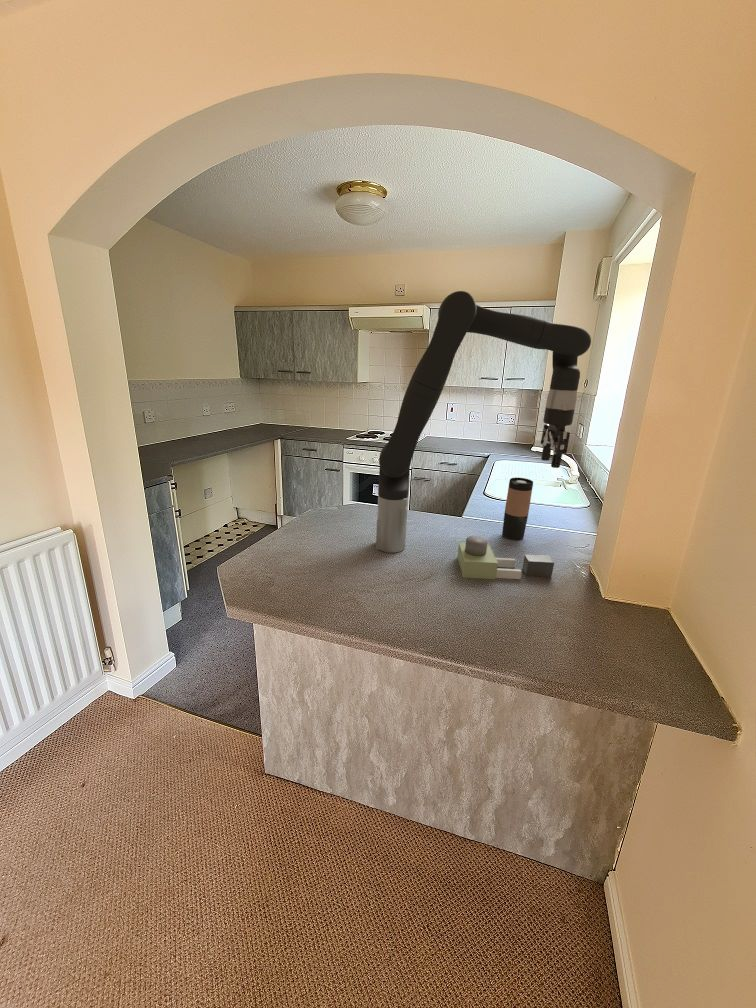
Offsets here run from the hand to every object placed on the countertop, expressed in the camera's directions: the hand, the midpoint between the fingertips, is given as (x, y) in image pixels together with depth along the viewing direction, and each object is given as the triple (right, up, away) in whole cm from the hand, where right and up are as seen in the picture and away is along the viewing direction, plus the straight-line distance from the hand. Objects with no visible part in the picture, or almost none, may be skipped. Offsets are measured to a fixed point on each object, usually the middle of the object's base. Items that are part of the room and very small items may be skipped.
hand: (549, 463), depth 118 cm
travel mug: (-3, -23, +23) cm, 33 cm away
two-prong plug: (-18, -30, 0) cm, 35 cm away
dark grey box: (-5, -32, -2) cm, 32 cm away
